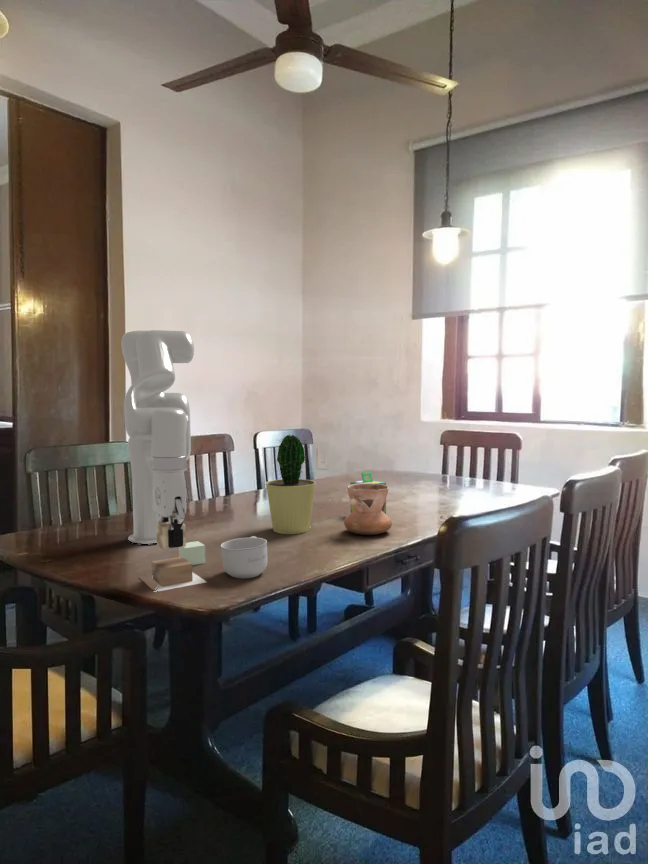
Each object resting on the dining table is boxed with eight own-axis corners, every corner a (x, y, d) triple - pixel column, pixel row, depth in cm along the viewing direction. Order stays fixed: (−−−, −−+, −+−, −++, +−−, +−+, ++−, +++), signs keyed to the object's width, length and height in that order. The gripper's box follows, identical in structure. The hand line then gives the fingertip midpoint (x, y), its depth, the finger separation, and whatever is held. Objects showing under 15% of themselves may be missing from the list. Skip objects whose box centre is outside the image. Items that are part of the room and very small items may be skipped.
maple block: (156, 545, 139) (156, 523, 139) (178, 542, 142) (177, 520, 142) (164, 549, 135) (163, 527, 135) (185, 546, 138) (185, 524, 137)
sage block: (179, 563, 154) (178, 543, 154) (198, 560, 157) (197, 541, 156) (186, 568, 150) (185, 548, 150) (205, 565, 153) (205, 545, 152)
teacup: (254, 584, 137) (253, 549, 136) (212, 579, 141) (211, 545, 140) (281, 567, 150) (280, 535, 149) (242, 563, 154) (241, 531, 153)
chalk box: (368, 519, 204) (368, 475, 203) (349, 515, 211) (349, 472, 210) (387, 515, 210) (387, 472, 209) (368, 511, 217) (368, 469, 216)
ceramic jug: (372, 541, 175) (372, 492, 174) (331, 534, 184) (331, 487, 183) (405, 530, 189) (405, 484, 188) (366, 523, 198) (366, 480, 197)
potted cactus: (255, 530, 189) (254, 433, 187) (290, 522, 200) (289, 430, 198) (291, 538, 179) (291, 435, 177) (326, 529, 190) (325, 432, 188)
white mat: (137, 579, 141) (137, 577, 141) (187, 570, 148) (187, 569, 147) (154, 593, 131) (154, 591, 131) (207, 583, 137) (207, 582, 137)
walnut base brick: (152, 578, 140) (151, 561, 140) (181, 573, 144) (181, 556, 144) (162, 586, 134) (161, 568, 134) (192, 581, 138) (192, 563, 138)
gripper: (141, 462, 142) (143, 539, 143) (165, 469, 128) (167, 555, 129) (172, 459, 146) (174, 535, 148) (199, 466, 132) (201, 549, 133)
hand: (171, 543), depth 138 cm, fingers closed on maple block, 5 cm apart
